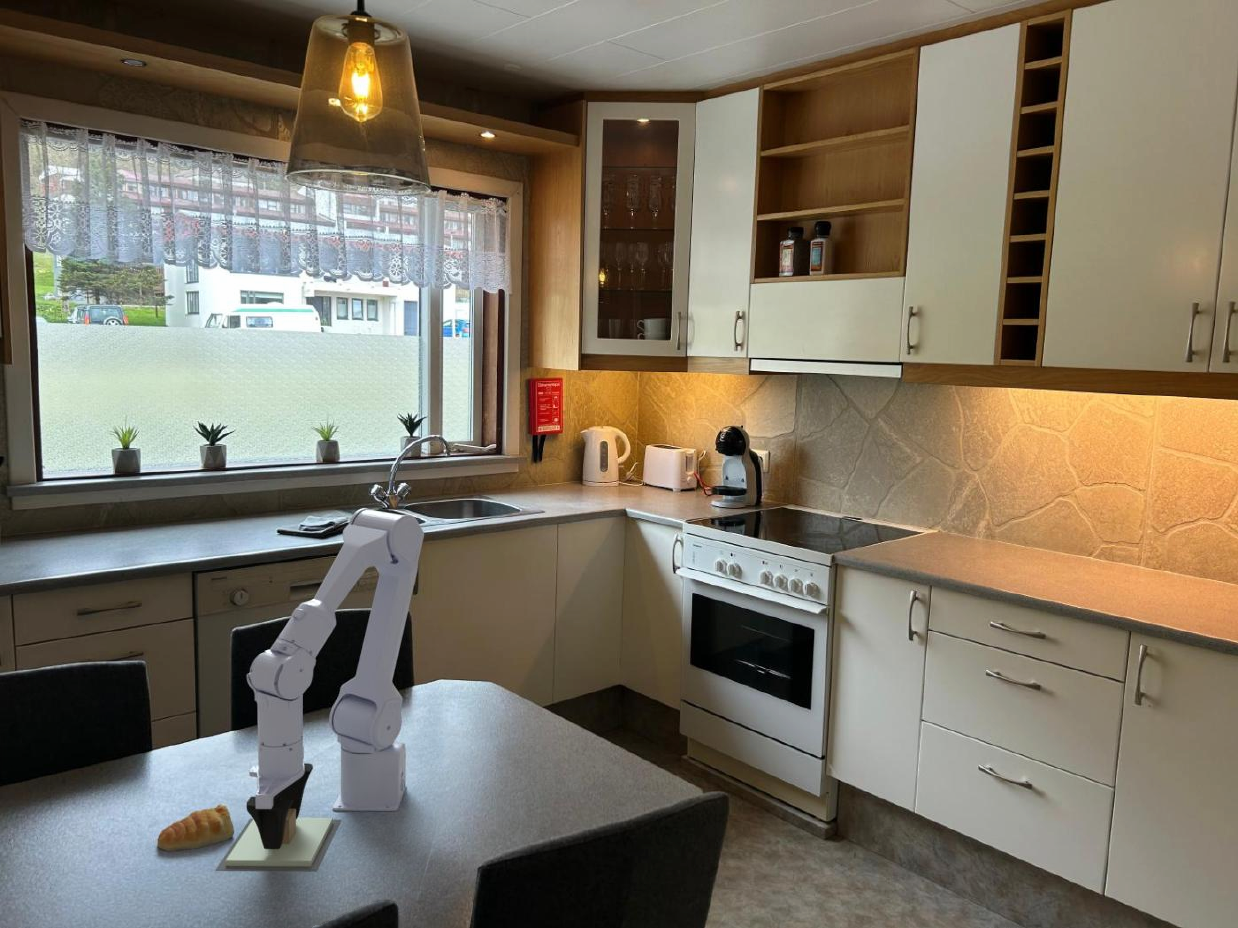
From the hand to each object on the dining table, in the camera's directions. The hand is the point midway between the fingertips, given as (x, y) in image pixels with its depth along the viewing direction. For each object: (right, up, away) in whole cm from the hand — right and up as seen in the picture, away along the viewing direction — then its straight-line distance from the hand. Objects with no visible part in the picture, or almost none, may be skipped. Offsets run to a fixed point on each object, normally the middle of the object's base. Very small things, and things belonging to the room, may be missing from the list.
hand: (281, 832), depth 125 cm
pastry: (-12, -2, +1) cm, 12 cm away
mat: (0, -2, 0) cm, 2 cm away
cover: (0, -2, 0) cm, 2 cm away
